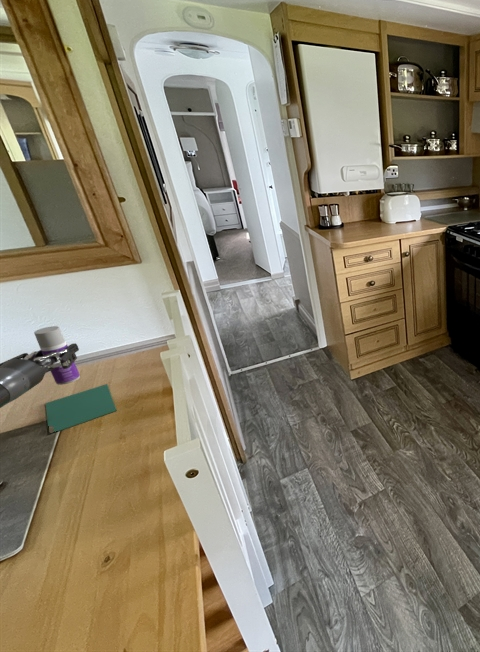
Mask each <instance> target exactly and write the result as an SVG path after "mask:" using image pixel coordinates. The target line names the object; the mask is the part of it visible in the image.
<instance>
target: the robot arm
mask: <svg viewBox="0 0 480 652" xmlns="http://www.w3.org/2000/svg"><path fill="white" fill-rule="evenodd" d="M79 350H80V349H79V346H78V344H77V343H71V344H69V345H67V347H66V348H64V349H63V350H61V351H59V352H56V353H55V352H52V353H49V354H47V355H45V356H43V353H42V351H41V349H39V350H36V351H32V352H30V353H28V352H23V353H21V354H19V355H16V356H14V357H12V358H10V359H8V360H5V361H3V362H0V409H2V408H3V407H5V406H6V405H8V404H10V403H12V402H14V401H15V400H17V399H19V398H20V397H21V396H23V395H24V394H26V393H27V392H29V391H30V390H31V389H33V388H35V387H36V386H38V385H39V384H40V383H42V381H43V380H44V378H45V375H46V374H47V373H48V372H51V370H53V369H54V368H55V367H61V366H62V367H63V369H67V368H69V367H70V366H71V365H72V364H73V363H74V362H75V361H76V360H77V359H78V357H77V354H76V353H78V352H79ZM61 354H62V355H63V357H62V358H60V355H61ZM51 357H52V358H53V359H52V358H51Z"/></svg>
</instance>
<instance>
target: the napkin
mask: <svg viewBox="0 0 480 652" xmlns="http://www.w3.org/2000/svg"><path fill="white" fill-rule="evenodd" d="M115 412H117V407H116V405H115V402H114V400H113V397H112V394H111V390H110V388H109V385H108V383H106V384H101V385H99V386H96V387H92V388H88V389H86V390H83V391H79V392H77V393H74V394H70V395H68V396H64V397H61V398H58V399H53V400H51V401H48V402H45V413H46V421H47V427H48V426H52V427H54V429H53V430H54V431H55V432H56V431H58V432H62V431H64V430H67V429H70V428H73V427H75V426H78V425H81V424H84V423H86V422H89V421H92V420H95V419H97V418H100V417H103V416H104V417H105V416H107V415H109V414H112V413H115ZM56 433H57V432H56Z"/></svg>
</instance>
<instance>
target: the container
mask: <svg viewBox="0 0 480 652" xmlns="http://www.w3.org/2000/svg"><path fill="white" fill-rule="evenodd" d="M33 334H34V336H35V339H36V341H37V344H38V346H39V350H41V351H42V353H43V356H45V355H47V354H49V353H52V352H55V353H56V352H59V351H61V350H63V349H64V348H66V347H67V346H68V343H67V341H66V339H65V336H64V334H63V333H62V330H61V329H60V326H57V325H51V326H46V327H42V328H39V329H37V330H35V331H34V332H33ZM62 357H63V355H62V354H61V355H60V358H62ZM51 358H52V357H51ZM52 359H53V358H52ZM50 374H51V375H52V378H53V380H54V382H55V384H56V385H59V386H61V385H67V384H71V383H73V382H76V381H78V380H79V379H80V378H81V375H80V372H79V370H78V367H77V365H76V362H75V361H74V363H73V364H72V365H71V366H70V367H69V368H67V369H63V367H62V366H61V367H55V368H54V369H53V370H51V371H50Z"/></svg>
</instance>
